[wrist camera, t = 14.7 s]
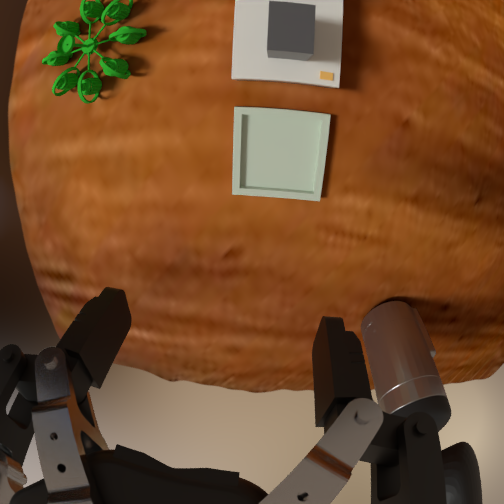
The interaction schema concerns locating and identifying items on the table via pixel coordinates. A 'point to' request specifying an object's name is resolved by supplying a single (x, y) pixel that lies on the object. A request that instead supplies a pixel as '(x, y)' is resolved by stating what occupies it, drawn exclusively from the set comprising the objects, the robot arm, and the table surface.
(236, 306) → the table surface
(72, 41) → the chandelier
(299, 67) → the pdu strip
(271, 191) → the sage tray
